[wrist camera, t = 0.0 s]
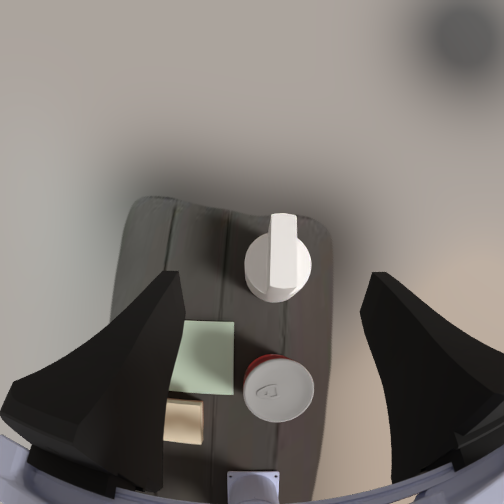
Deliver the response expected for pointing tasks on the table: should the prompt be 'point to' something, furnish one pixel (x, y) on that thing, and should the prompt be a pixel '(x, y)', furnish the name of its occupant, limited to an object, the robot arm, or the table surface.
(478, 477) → the robot arm
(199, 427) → the beige block
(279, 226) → the cylinder with rectangular tab
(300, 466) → the table surface
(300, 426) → the table surface
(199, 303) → the table surface
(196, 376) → the mat
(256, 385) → the canned food
